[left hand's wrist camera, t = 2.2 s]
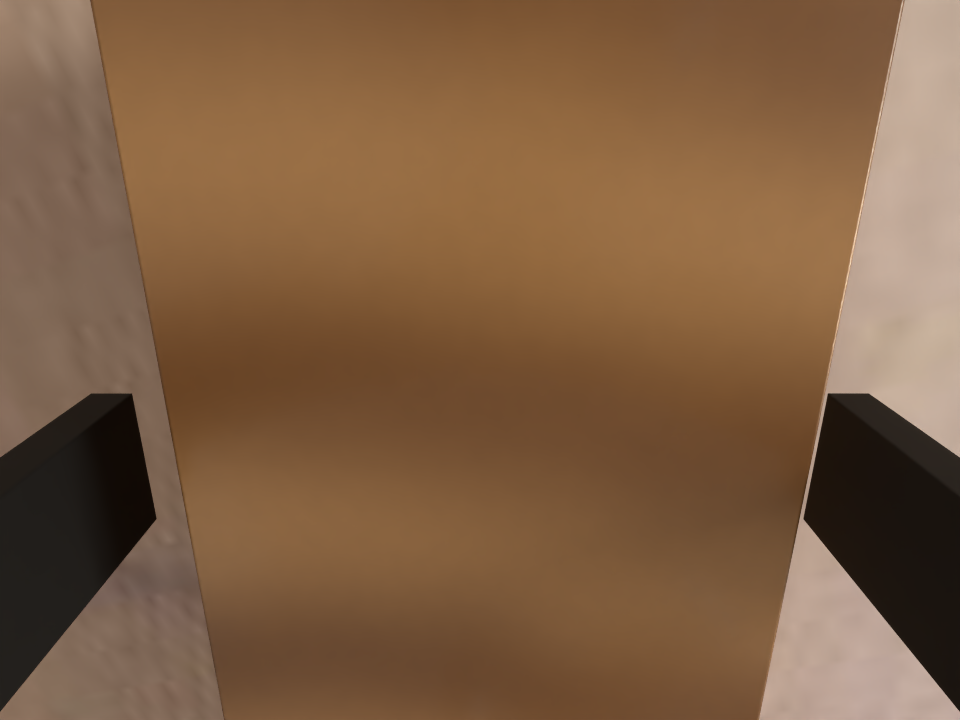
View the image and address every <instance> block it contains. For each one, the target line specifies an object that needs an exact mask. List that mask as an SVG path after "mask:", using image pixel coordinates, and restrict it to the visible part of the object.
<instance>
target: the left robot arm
mask: <svg viewBox="0 0 960 720" xmlns="http://www.w3.org/2000/svg"><path fill="white" fill-rule="evenodd" d="M155 520H156V514H155V509H154V503H153V498H152V493H151V488H150V483H149V478H148V473H147V468H146V463H145V458H144V453H143V447H142V442H141V437H140V432H139V427H138V422H137V417H136V412H135V407H134V402H133V396H132V394H90V395H89V396H87V397H86V398H84V399H83V400H82V401H80V402H79V403H77V404H76V405H74V406H73V407H72V408H70V409H69V410H67V411H66V412H64V413H63V414H62V415H60V416H59V417H57V418H56V419H55V420H53V421H52V422H50V423H49V424H47V425H46V426H45V427H43V428H42V429H40V430H39V431H37V432H36V433H35V434H33V435H32V436H30V437H29V438H27V439H26V440H25V441H23V442H22V443H20V444H19V445H18V446H16V447H15V448H13V449H12V450H10V451H9V452H8V453H6V454H5V455H3V456H2V457H0V711H1V710H2V709H3V707H4V706H5V705H6V704H7V703H8V701H9V700H10V699H11V698H12V696H13V695H14V694H15V693H16V691H17V690H18V689H19V688H20V687H21V685H22V684H23V683H24V682H25V680H26V679H27V678H28V677H29V675H30V674H31V673H32V672H33V671H34V669H35V668H36V667H37V666H38V664H39V663H40V662H41V661H42V659H43V658H44V657H45V656H46V655H47V653H48V652H49V651H50V650H51V648H52V647H53V646H54V645H55V643H56V642H57V641H58V640H59V638H60V637H61V636H62V635H63V634H64V632H65V631H66V630H67V629H68V627H69V626H70V625H71V624H72V622H73V621H74V620H75V619H76V618H77V616H78V615H79V614H80V613H81V611H82V610H83V609H84V608H85V606H86V605H87V604H88V603H89V602H90V600H91V599H92V598H93V597H94V595H95V594H96V593H97V592H98V590H99V589H100V588H101V587H102V586H103V584H104V583H105V582H106V581H107V579H108V578H109V577H110V576H111V574H112V573H113V572H114V571H115V570H116V568H117V567H118V566H119V565H120V563H121V562H122V561H123V560H124V558H125V557H126V556H127V555H128V553H129V552H130V551H131V550H132V549H133V547H134V546H135V545H136V544H137V542H138V541H139V540H140V539H141V537H142V536H143V535H144V534H145V533H146V531H147V530H148V529H149V528H150V526H151V525H152V524H153V523H154V521H155ZM804 520H805V521H806V523H807V524H808V525H809V526H810V528H811V529H812V530H813V531H814V533H815V534H816V535H817V536H818V537H819V539H820V540H821V541H822V542H823V544H824V545H825V546H826V547H827V549H828V550H829V551H830V552H831V553H832V555H833V556H834V557H835V558H836V560H837V561H838V562H839V563H840V565H841V566H842V567H843V568H844V570H845V571H846V572H847V573H848V574H849V576H850V577H851V578H852V579H853V581H854V582H855V583H856V584H857V586H858V587H859V588H860V589H861V590H862V592H863V593H864V594H865V595H866V597H867V598H868V599H869V600H870V602H871V603H872V604H873V605H874V606H875V608H876V609H877V610H878V611H879V613H880V614H881V615H882V616H883V618H884V619H885V620H886V621H887V622H888V624H889V625H890V626H891V627H892V629H893V630H894V631H895V632H896V634H897V635H898V636H899V637H900V638H901V640H902V641H903V642H904V643H905V645H906V646H907V647H908V648H909V650H910V651H911V652H912V653H913V655H914V656H915V657H916V658H917V659H918V661H919V662H920V663H921V664H922V666H923V667H924V668H925V669H926V671H927V672H928V673H929V674H930V675H931V677H932V678H933V679H934V680H935V682H936V683H937V684H938V685H939V687H940V688H941V689H942V690H943V691H944V693H945V694H946V695H947V696H948V698H949V699H950V700H951V701H952V703H953V704H954V705H955V706H956V707H957V709H958V710H959V711H960V457H958V456H957V455H955V454H954V453H952V452H951V451H950V450H948V449H947V448H945V447H944V446H942V445H941V444H940V443H938V442H937V441H935V440H934V439H933V438H931V437H930V436H928V435H927V434H925V433H924V432H923V431H921V430H920V429H918V428H917V427H915V426H914V425H913V424H911V423H910V422H908V421H907V420H905V419H904V418H903V417H901V416H900V415H898V414H897V413H896V412H894V411H893V410H891V409H890V408H888V407H887V406H886V405H884V404H883V403H881V402H880V401H878V400H877V399H876V398H874V397H873V396H871V395H870V394H828V396H827V402H826V407H825V412H824V417H823V422H822V427H821V432H820V437H819V442H818V447H817V453H816V458H815V463H814V468H813V473H812V478H811V483H810V488H809V493H808V498H807V503H806V509H805V514H804Z"/></svg>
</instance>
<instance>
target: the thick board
mask: <svg viewBox="0 0 960 720" xmlns="http://www.w3.org/2000/svg"><path fill="white" fill-rule="evenodd" d="M90 1H91V6H92V11H93V17H94V22H95V28H96V33H97V38H98V44H99V49H100V54H101V60H102V65H103V71H104V76H105V81H106V87H107V92H108V97H109V103H110V108H111V113H112V119H113V124H114V130H115V135H116V140H117V146H118V151H119V156H120V162H121V167H122V173H123V178H124V183H125V189H126V194H127V199H128V205H129V210H130V216H131V221H132V226H133V232H134V237H135V242H136V248H137V253H138V258H139V264H140V269H141V275H142V280H143V285H144V291H145V296H146V301H147V307H148V312H149V318H150V323H151V328H152V334H153V339H154V344H155V350H156V355H157V361H158V366H159V371H160V377H161V382H162V387H163V393H164V398H165V404H166V409H167V414H168V420H169V425H170V430H171V436H172V441H173V446H174V452H175V457H176V463H177V468H178V473H179V479H180V484H181V489H182V495H183V500H184V506H185V511H186V516H187V522H188V527H189V532H190V538H191V543H192V549H193V554H194V559H195V565H196V570H197V575H198V581H199V586H200V592H201V597H202V602H203V608H204V613H205V618H206V624H207V629H208V634H209V640H210V645H211V651H212V656H213V661H214V667H215V672H216V677H217V683H218V688H219V694H220V699H221V704H222V710H223V715H224V720H759V716H760V711H761V706H762V701H763V696H764V691H765V686H766V681H767V676H768V671H769V666H770V661H771V656H772V652H773V647H774V642H775V637H776V632H777V627H778V622H779V617H780V612H781V607H782V602H783V597H784V592H785V587H786V582H787V578H788V573H789V568H790V563H791V558H792V553H793V548H794V543H795V538H796V533H797V528H798V523H799V518H800V513H801V509H802V504H803V499H804V494H805V489H806V484H807V479H808V474H809V469H810V464H811V459H812V454H813V449H814V444H815V439H816V435H817V430H818V425H819V420H820V415H821V410H822V405H823V400H824V395H825V390H826V385H827V380H828V375H829V370H830V366H831V361H832V356H833V351H834V346H835V341H836V336H837V331H838V326H839V321H840V316H841V311H842V306H843V301H844V296H845V292H846V287H847V282H848V277H849V272H850V267H851V262H852V257H853V252H854V247H855V242H856V237H857V232H858V227H859V223H860V218H861V213H862V208H863V203H864V198H865V193H866V188H867V183H868V178H869V173H870V168H871V163H872V158H873V153H874V149H875V144H876V139H877V134H878V129H879V124H880V119H881V114H882V109H883V104H884V99H885V94H886V89H887V84H888V80H889V75H890V70H891V65H892V60H893V55H894V50H895V45H896V40H897V35H898V30H899V25H900V20H901V15H902V10H903V6H904V1H905V0H90Z"/></svg>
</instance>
